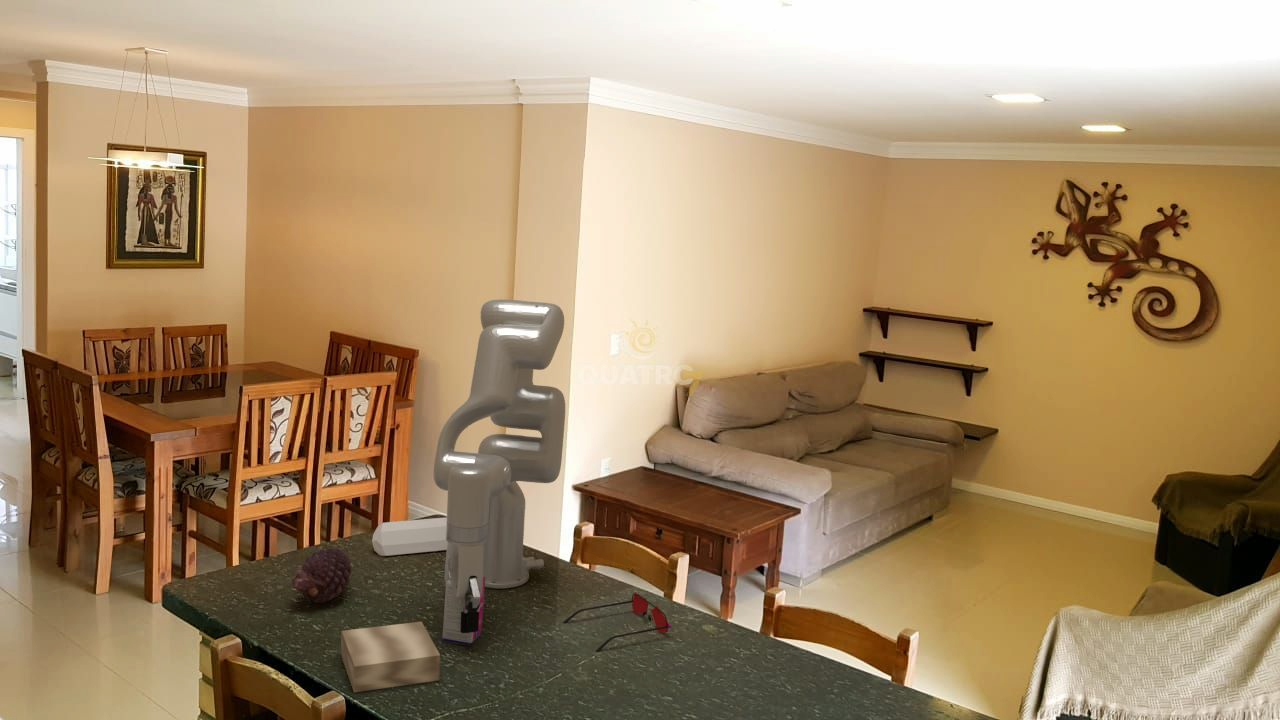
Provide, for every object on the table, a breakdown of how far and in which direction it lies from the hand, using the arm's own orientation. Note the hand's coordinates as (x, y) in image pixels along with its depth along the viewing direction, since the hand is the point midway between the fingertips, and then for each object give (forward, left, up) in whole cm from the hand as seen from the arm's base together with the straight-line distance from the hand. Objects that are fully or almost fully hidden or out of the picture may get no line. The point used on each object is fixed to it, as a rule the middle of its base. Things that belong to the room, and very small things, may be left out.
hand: (463, 621), depth 184 cm
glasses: (-29, +5, -4) cm, 30 cm away
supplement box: (0, 0, -3) cm, 3 cm away
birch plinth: (+15, +8, -3) cm, 17 cm away
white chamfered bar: (-4, -48, -4) cm, 48 cm away
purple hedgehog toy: (+21, -25, -3) cm, 33 cm away
